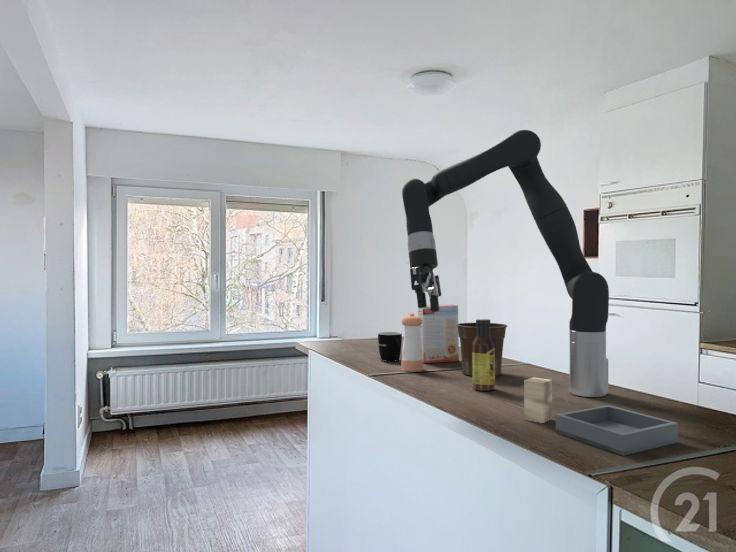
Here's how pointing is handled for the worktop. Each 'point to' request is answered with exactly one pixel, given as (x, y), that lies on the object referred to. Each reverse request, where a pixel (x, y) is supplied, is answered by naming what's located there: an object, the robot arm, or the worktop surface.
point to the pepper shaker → (412, 344)
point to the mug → (390, 345)
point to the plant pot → (466, 342)
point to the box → (617, 429)
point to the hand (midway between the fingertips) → (429, 309)
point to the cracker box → (439, 334)
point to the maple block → (538, 400)
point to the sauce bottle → (483, 357)
